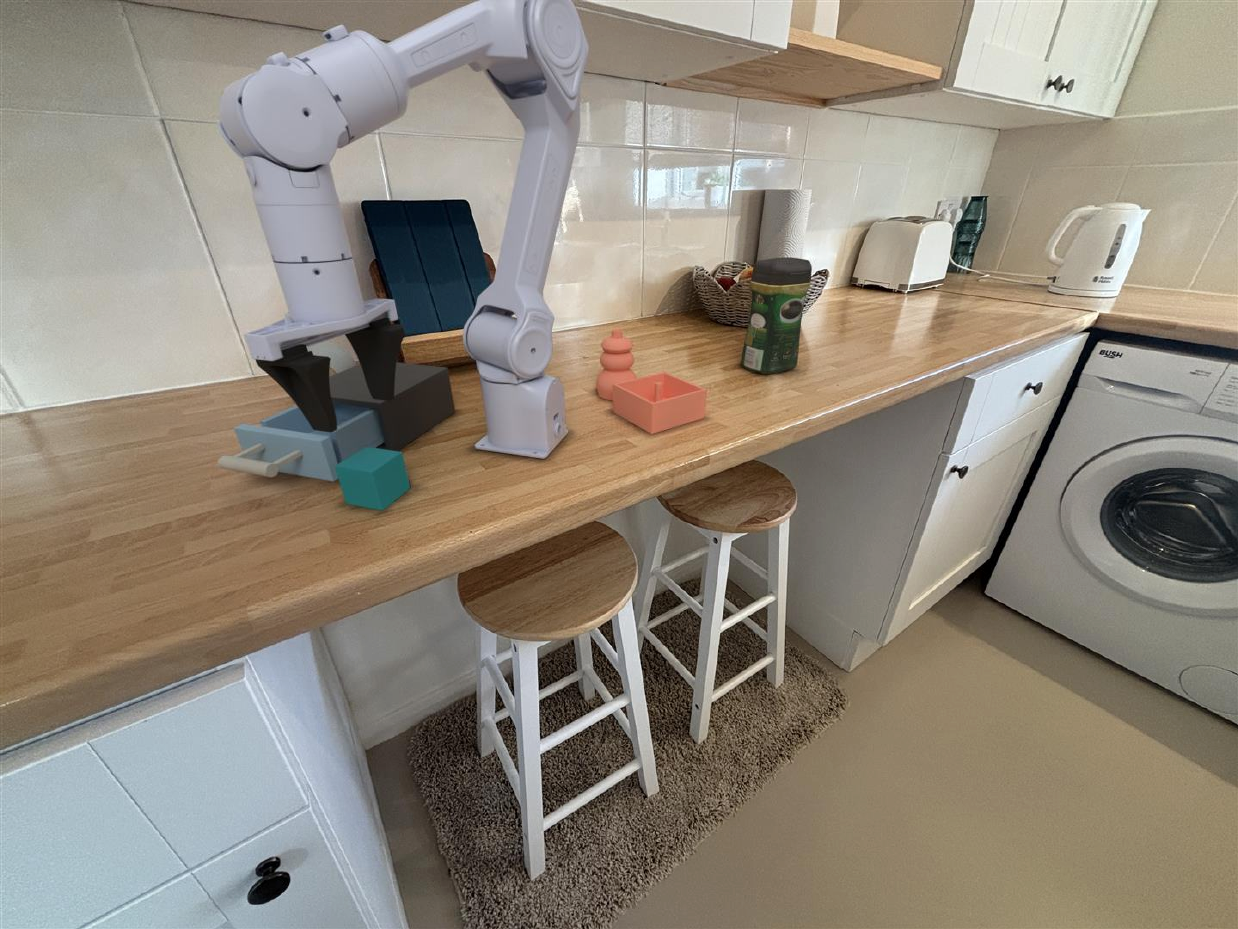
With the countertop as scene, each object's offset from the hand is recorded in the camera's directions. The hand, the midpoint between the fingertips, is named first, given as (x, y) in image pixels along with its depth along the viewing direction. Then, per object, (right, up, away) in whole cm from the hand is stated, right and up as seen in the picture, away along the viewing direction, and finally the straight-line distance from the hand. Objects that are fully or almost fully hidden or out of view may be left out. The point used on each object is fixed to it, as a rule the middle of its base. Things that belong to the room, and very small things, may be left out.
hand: (356, 413), depth 47 cm
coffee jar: (+52, +12, +43) cm, 68 cm away
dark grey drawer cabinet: (-6, 0, +20) cm, 21 cm away
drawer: (-10, -4, +10) cm, 14 cm away
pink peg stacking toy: (+28, +4, +27) cm, 39 cm away
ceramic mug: (-18, +5, +29) cm, 35 cm away
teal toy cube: (0, -8, +5) cm, 9 cm away
